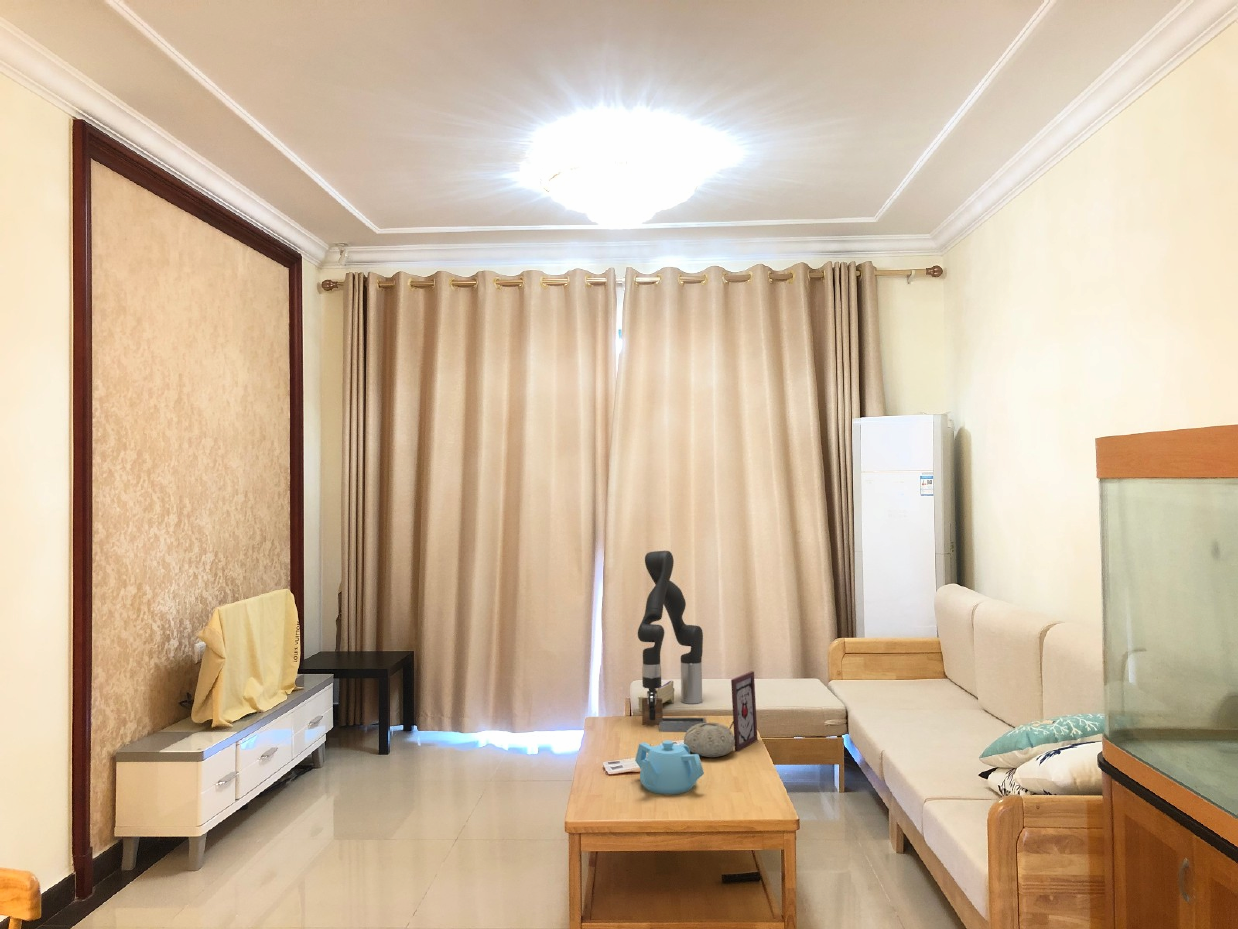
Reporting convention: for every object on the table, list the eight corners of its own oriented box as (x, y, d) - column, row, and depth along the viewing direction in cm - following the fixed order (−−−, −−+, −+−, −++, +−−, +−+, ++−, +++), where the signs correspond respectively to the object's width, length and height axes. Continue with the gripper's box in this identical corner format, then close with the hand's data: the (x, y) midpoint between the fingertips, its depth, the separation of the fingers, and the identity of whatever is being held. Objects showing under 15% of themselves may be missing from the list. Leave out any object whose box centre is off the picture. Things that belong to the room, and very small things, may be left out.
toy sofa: (656, 701, 373) (656, 677, 373) (675, 702, 369) (674, 679, 370) (637, 712, 354) (637, 687, 354) (656, 714, 350) (656, 689, 351)
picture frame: (737, 751, 297) (736, 680, 298) (712, 747, 302) (711, 677, 303) (757, 740, 310) (756, 671, 311) (733, 736, 316) (732, 669, 317)
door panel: (642, 723, 336) (642, 697, 337) (662, 723, 336) (662, 697, 336) (642, 725, 333) (641, 699, 334) (662, 725, 333) (662, 699, 333)
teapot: (637, 777, 272) (636, 733, 272) (696, 775, 273) (695, 732, 273) (642, 798, 252) (641, 752, 253) (705, 797, 253) (705, 750, 254)
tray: (659, 726, 331) (659, 717, 331) (706, 726, 329) (705, 717, 330) (659, 731, 324) (659, 722, 324) (706, 731, 322) (706, 722, 323)
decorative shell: (705, 765, 283) (704, 735, 283) (673, 752, 298) (672, 723, 298) (745, 755, 293) (744, 726, 293) (712, 743, 307) (711, 715, 308)
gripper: (643, 671, 342) (643, 714, 342) (641, 678, 328) (642, 723, 328) (661, 671, 342) (662, 714, 341) (660, 678, 328) (661, 723, 327)
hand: (652, 718), depth 334 cm, fingers open, 3 cm apart
